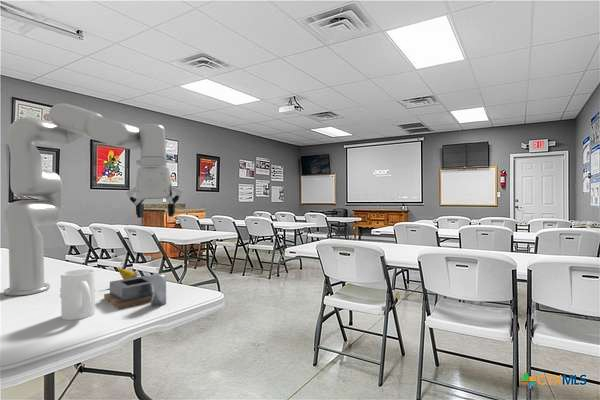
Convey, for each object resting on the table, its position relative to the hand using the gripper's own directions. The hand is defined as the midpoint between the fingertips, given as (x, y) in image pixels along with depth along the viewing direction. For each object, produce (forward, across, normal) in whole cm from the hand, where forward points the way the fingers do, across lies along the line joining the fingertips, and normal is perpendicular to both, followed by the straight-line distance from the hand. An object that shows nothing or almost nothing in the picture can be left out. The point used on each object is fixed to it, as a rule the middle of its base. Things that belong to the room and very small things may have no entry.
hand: (155, 217), depth 111 cm
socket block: (+25, -8, +1) cm, 26 cm away
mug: (+26, -16, -15) cm, 34 cm away
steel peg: (+27, +2, -5) cm, 27 cm away
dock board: (+26, -8, +1) cm, 27 cm away
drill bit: (+26, -18, +19) cm, 37 cm away
